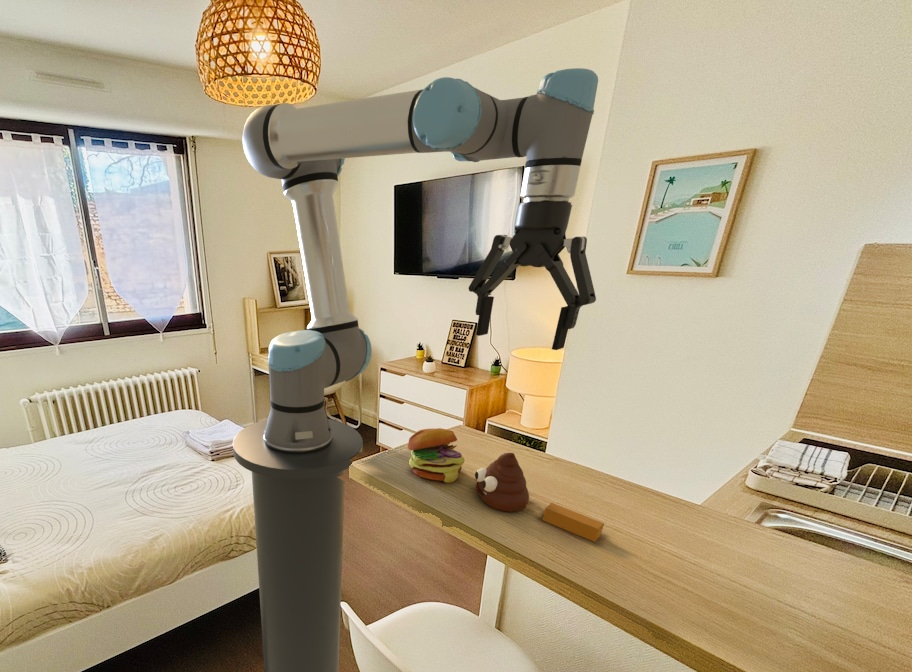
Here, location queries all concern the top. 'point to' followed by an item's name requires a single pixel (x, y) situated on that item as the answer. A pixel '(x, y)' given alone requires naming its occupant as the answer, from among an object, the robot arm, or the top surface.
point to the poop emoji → (503, 484)
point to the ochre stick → (573, 522)
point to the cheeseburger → (435, 455)
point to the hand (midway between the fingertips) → (517, 341)
